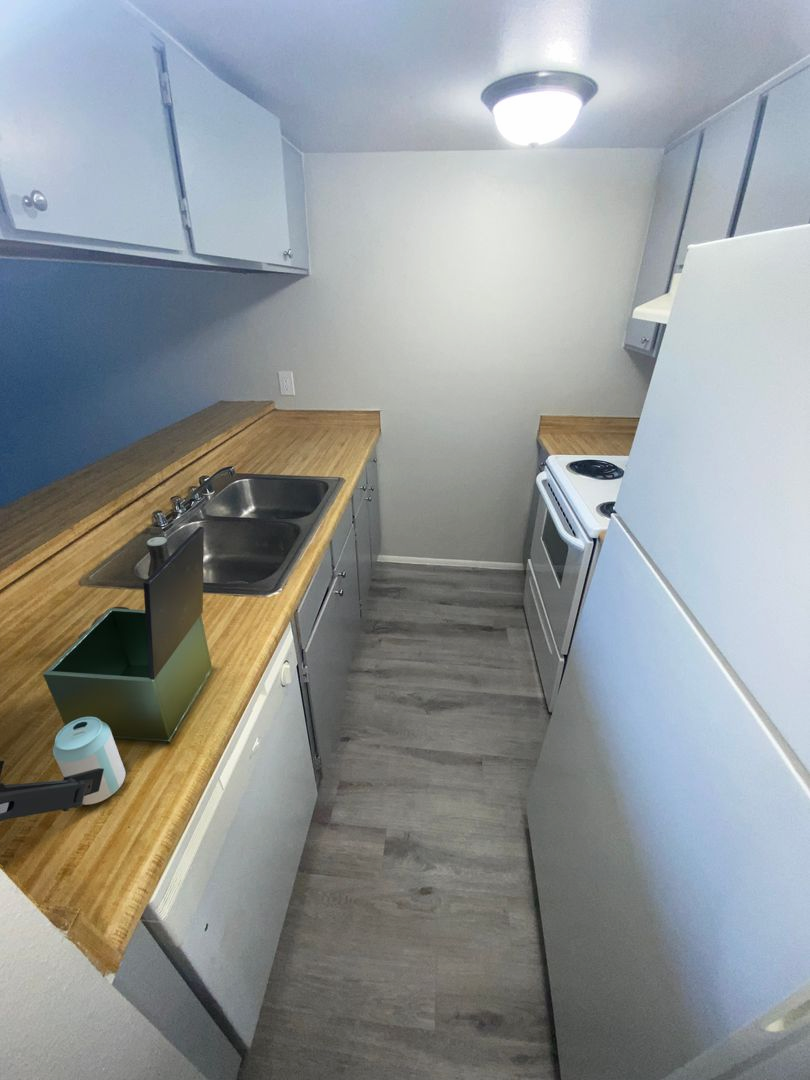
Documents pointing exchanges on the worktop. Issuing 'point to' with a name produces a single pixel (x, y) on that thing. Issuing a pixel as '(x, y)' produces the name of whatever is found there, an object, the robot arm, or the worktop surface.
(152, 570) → the sauce bottle
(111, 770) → the can
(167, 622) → the box lid
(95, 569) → the worktop surface
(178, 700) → the green open box
